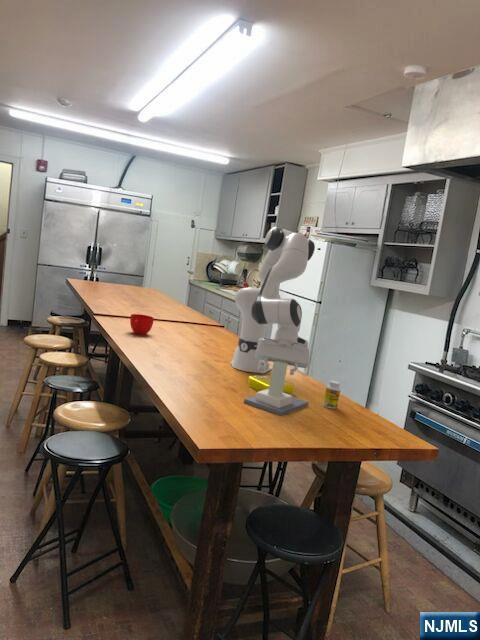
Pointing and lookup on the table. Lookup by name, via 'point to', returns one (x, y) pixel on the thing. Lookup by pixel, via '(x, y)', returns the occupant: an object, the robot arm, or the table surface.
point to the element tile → (264, 381)
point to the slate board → (277, 410)
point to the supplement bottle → (332, 395)
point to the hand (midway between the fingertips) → (279, 371)
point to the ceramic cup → (141, 323)
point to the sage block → (277, 378)
